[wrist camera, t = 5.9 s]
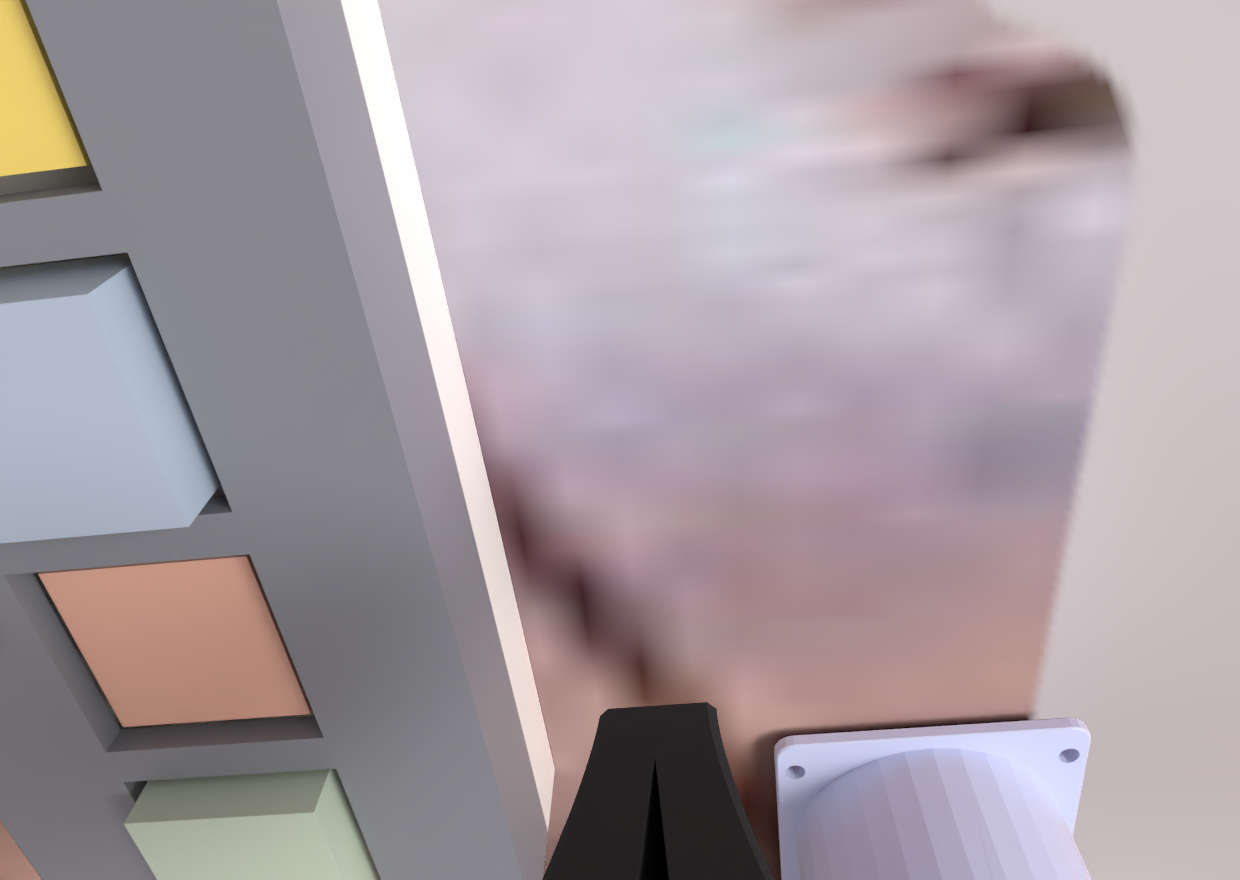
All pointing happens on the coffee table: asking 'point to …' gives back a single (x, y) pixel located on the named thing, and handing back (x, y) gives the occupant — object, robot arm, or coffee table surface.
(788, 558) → the coffee table surface
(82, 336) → the key
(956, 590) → the coffee table surface
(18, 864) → the coffee table surface
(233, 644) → the key
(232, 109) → the keypad
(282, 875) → the key
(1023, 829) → the robot arm
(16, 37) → the key
